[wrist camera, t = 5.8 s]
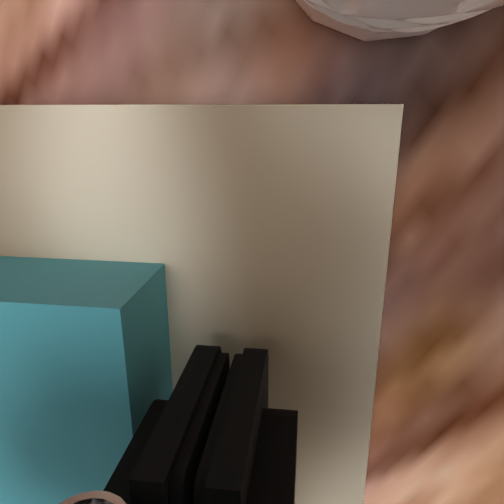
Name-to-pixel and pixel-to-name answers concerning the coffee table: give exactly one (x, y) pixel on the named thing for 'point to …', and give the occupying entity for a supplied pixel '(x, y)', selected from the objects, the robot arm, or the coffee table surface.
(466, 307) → the coffee table surface
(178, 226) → the beige block
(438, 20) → the white cup
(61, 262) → the teal block
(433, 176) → the coffee table surface
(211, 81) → the coffee table surface
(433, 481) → the coffee table surface
